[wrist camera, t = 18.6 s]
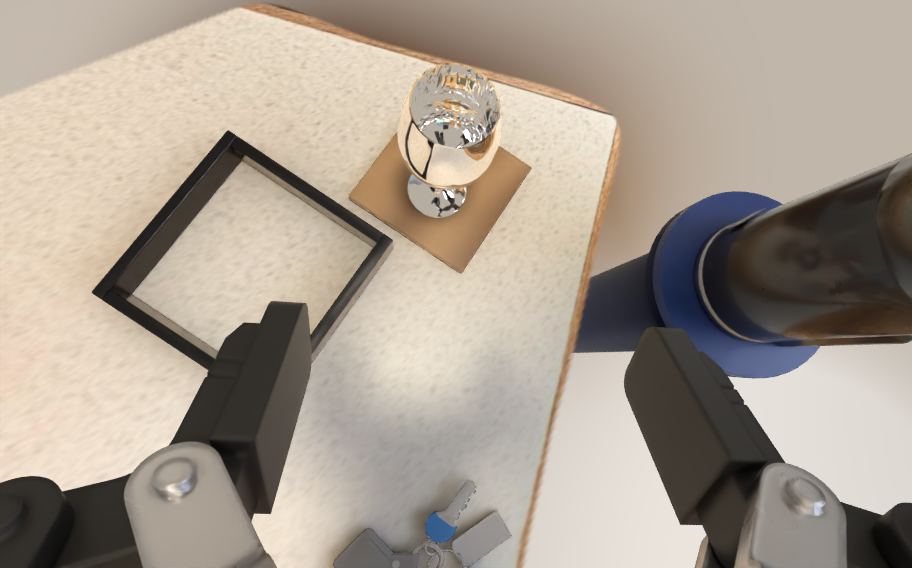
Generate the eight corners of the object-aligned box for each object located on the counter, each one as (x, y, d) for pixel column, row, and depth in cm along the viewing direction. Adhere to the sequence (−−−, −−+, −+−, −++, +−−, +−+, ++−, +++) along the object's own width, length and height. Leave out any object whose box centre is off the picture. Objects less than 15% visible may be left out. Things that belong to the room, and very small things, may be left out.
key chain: (328, 592, 31) (326, 598, 30) (352, 461, 32) (351, 464, 31) (535, 616, 32) (538, 623, 31) (550, 489, 33) (553, 492, 33)
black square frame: (393, 248, 35) (393, 239, 32) (280, 407, 32) (270, 411, 30) (239, 145, 35) (227, 129, 32) (114, 297, 32) (90, 292, 30)
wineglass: (484, 217, 35) (525, 146, 24) (409, 234, 35) (413, 171, 23) (463, 146, 36) (493, 43, 24) (390, 162, 35) (384, 63, 23)
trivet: (529, 170, 37) (531, 167, 36) (460, 274, 35) (461, 272, 35) (423, 99, 37) (424, 95, 36) (349, 199, 35) (348, 196, 34)
